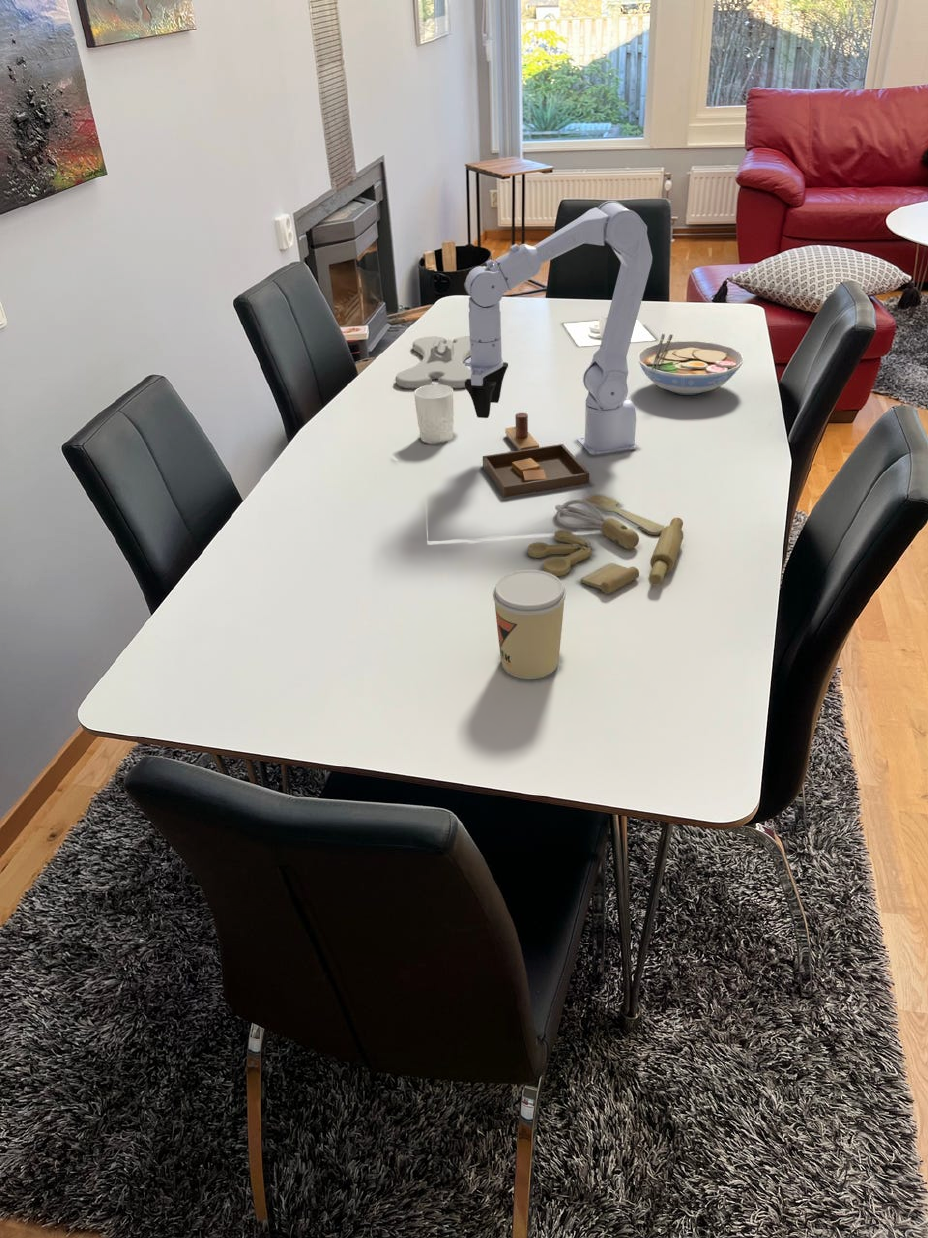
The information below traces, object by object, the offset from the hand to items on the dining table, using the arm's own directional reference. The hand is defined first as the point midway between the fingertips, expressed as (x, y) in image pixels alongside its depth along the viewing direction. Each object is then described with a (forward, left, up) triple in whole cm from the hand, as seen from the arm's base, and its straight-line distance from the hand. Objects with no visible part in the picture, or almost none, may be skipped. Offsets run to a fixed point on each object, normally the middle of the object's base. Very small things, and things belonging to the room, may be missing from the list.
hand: (488, 409), depth 174 cm
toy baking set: (-9, +38, -10) cm, 41 cm away
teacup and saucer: (-52, -66, -10) cm, 84 cm away
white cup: (+7, -14, -10) cm, 19 cm away
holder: (-5, -57, -10) cm, 59 cm away
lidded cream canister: (+13, +65, -10) cm, 67 cm away
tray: (-6, +11, -10) cm, 16 cm away
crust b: (-5, +13, -10) cm, 17 cm away
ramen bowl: (-52, -20, -10) cm, 56 cm away
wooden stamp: (-8, -3, -10) cm, 13 cm away
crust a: (-5, +8, -10) cm, 14 cm away
